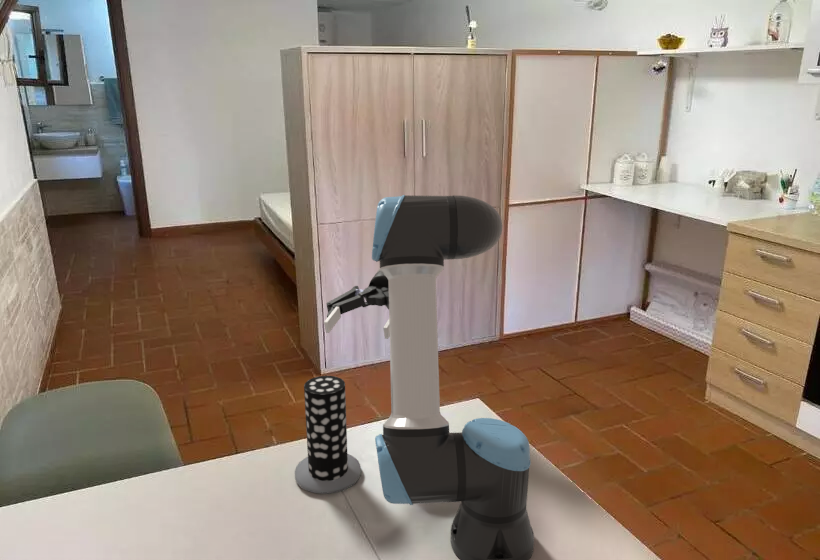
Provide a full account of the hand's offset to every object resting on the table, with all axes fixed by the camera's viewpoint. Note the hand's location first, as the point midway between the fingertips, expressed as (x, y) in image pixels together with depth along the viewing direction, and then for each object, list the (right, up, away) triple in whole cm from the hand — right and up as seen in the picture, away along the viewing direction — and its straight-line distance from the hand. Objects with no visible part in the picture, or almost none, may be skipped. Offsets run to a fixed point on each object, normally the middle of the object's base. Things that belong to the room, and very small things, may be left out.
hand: (355, 330), depth 133 cm
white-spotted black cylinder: (-6, -30, +2) cm, 31 cm away
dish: (-6, -31, +2) cm, 32 cm away
